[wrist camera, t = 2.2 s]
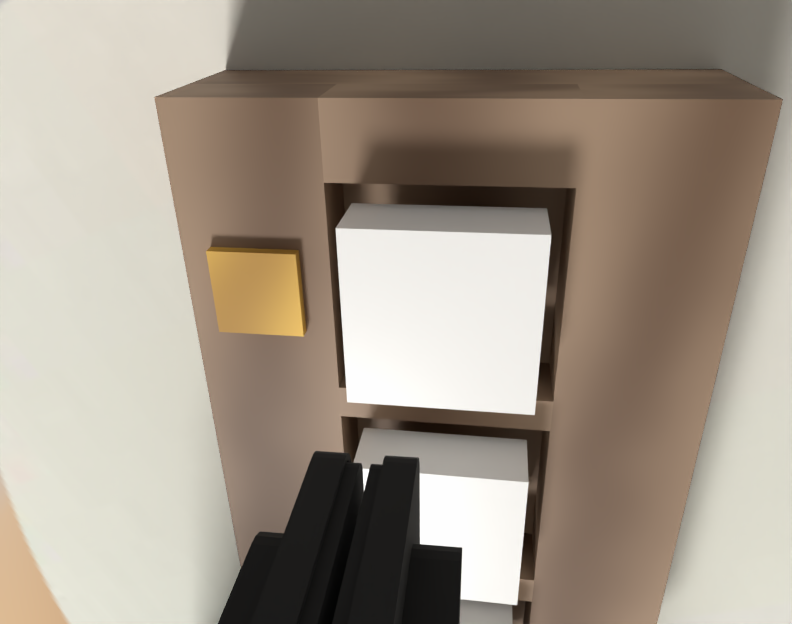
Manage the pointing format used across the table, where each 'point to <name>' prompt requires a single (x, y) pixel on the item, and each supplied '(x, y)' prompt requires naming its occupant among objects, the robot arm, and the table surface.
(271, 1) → the table surface
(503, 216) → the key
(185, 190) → the keypad
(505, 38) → the table surface
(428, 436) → the key middle
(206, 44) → the table surface
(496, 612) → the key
